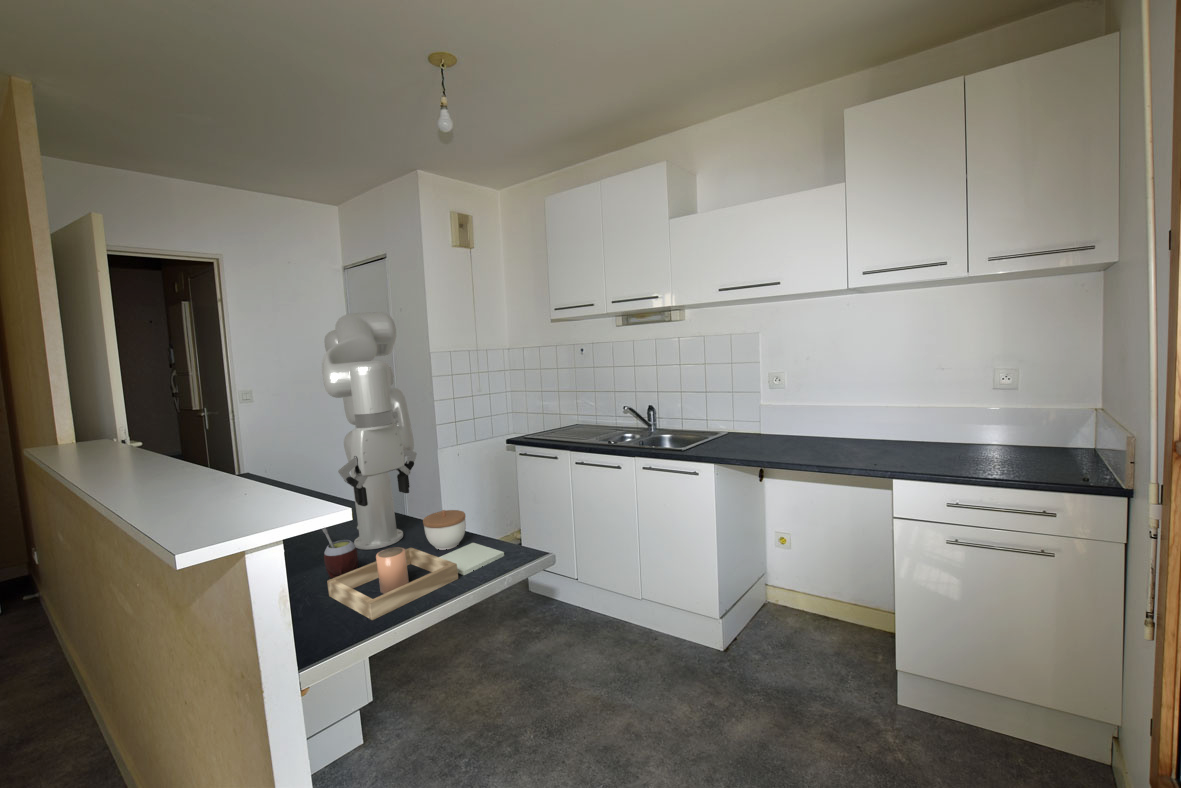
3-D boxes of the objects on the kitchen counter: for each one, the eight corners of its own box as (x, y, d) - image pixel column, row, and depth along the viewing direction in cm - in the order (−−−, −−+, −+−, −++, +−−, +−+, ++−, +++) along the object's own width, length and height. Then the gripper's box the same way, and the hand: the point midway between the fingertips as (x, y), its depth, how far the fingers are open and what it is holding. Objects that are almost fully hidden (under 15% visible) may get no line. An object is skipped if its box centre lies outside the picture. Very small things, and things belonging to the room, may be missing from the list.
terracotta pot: (375, 589, 118) (370, 554, 117) (399, 578, 123) (395, 544, 122) (389, 596, 114) (384, 560, 113) (414, 585, 119) (410, 550, 118)
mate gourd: (360, 567, 130) (352, 508, 129) (358, 580, 123) (350, 517, 121) (326, 574, 128) (318, 513, 126) (322, 588, 121) (313, 524, 119)
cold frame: (329, 596, 116) (327, 580, 116) (412, 561, 132) (410, 547, 132) (372, 620, 105) (370, 603, 104) (458, 578, 120) (456, 563, 120)
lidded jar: (457, 553, 134) (453, 517, 133) (418, 553, 137) (414, 517, 136) (474, 537, 145) (471, 503, 144) (438, 537, 147) (434, 504, 146)
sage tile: (433, 563, 129) (433, 559, 129) (473, 546, 139) (472, 542, 138) (464, 575, 122) (463, 571, 122) (504, 555, 131) (503, 552, 131)
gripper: (401, 413, 123) (410, 486, 125) (325, 427, 110) (336, 507, 112) (420, 414, 118) (428, 490, 120) (342, 429, 105) (353, 513, 107)
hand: (384, 498), depth 116 cm, fingers open, 9 cm apart
